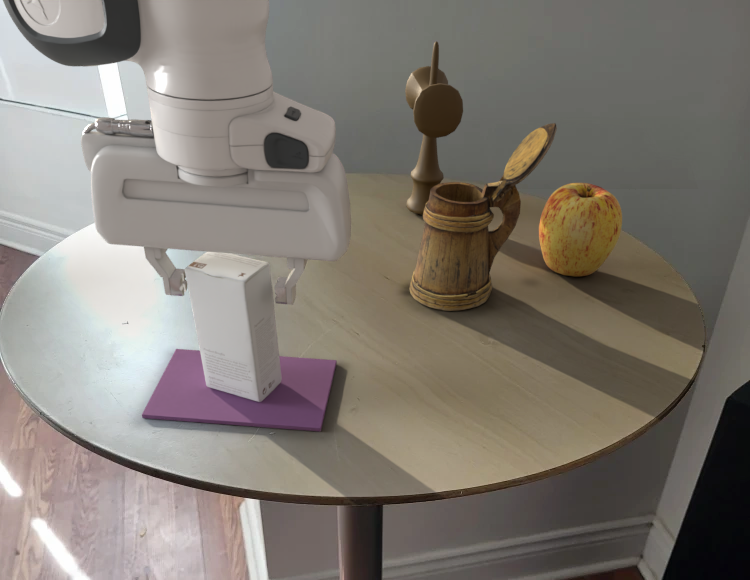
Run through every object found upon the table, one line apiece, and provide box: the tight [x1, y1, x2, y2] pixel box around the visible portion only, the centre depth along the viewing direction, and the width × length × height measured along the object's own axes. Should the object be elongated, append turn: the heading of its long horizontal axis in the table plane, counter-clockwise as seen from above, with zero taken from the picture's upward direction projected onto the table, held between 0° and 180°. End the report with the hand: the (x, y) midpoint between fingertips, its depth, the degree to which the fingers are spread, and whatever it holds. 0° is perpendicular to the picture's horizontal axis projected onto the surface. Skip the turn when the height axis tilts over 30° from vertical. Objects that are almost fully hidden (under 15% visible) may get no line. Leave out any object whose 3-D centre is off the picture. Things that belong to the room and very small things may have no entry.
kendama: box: [404, 41, 464, 216], centre depth 97 cm, size 6×10×20 cm, turn 6°
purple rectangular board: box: [141, 348, 338, 432], centre depth 72 cm, size 16×11×1 cm
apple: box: [538, 182, 623, 277], centre depth 89 cm, size 9×9×10 cm
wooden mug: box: [409, 122, 558, 312], centre depth 81 cm, size 9×14×18 cm, turn 93°
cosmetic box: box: [184, 251, 282, 402], centre depth 68 cm, size 6×4×12 cm
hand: (231, 297), depth 66 cm, fingers open, 8 cm apart
